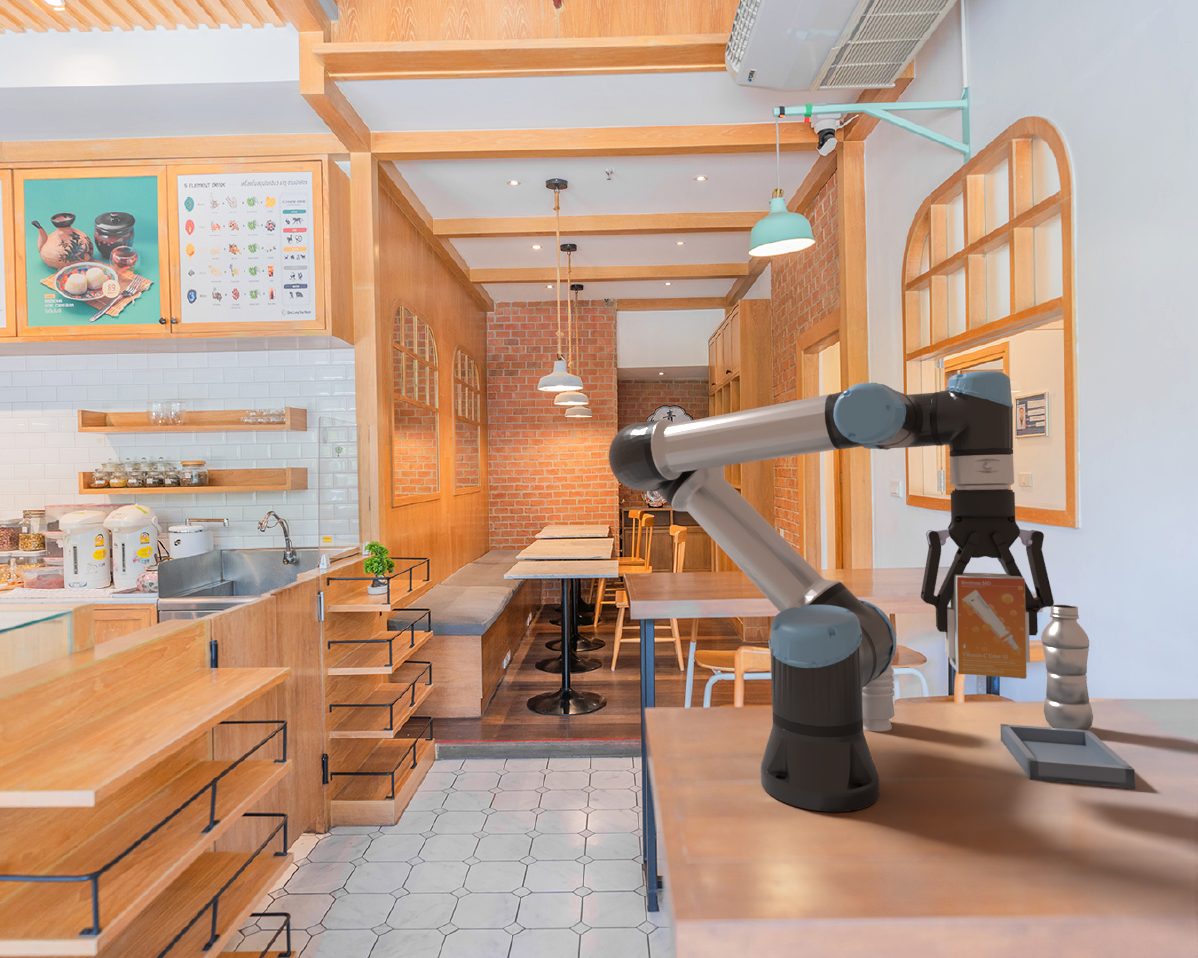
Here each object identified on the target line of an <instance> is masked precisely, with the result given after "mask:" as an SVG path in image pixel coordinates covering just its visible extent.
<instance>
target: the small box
mask: <svg viewBox="0 0 1198 958" xmlns="http://www.w3.org/2000/svg"><path fill="white" fill-rule="evenodd" d="M1025 582H1026V578H1024V577H1023V578H1022V577H1020V576H1010V575H1008V574H1006V573H1005V571H1004V572H1003V571H1002V572H999V571H995V572H993V571H964V572H963V574H962V575H955V576H954V593H953V596H952V598H951V600H950V602H949V604H948V606H950V607H951V608H952V609H954V630H955V659H954V658H949V664H950V665H951V666H952V668H953V669H954V670H955V671H956V673H957V674H959V675H971V676H973V675H974V676H987V677H997V678H999V677H1000V678H1011V679H1021V680H1022V679H1023V680H1025V679H1027V662H1026V616H1025Z"/></svg>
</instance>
